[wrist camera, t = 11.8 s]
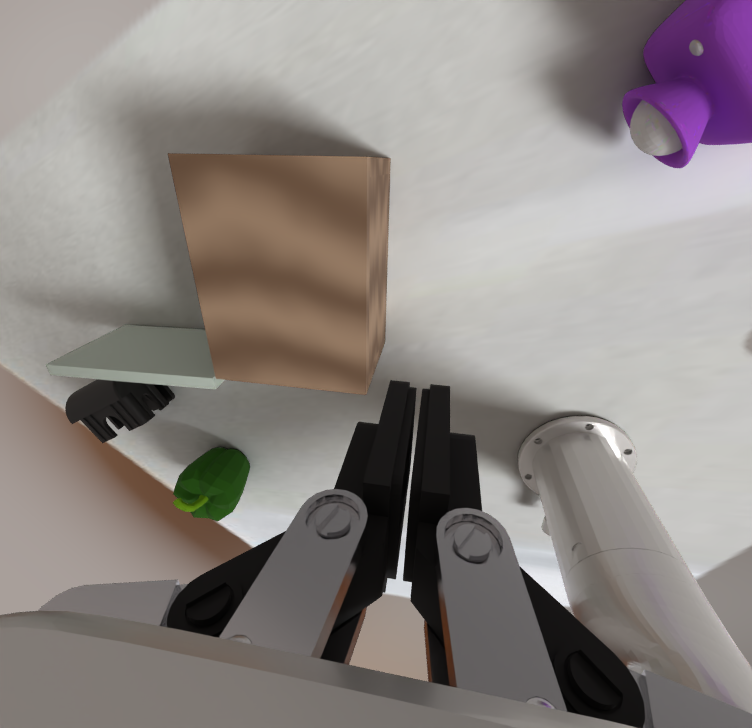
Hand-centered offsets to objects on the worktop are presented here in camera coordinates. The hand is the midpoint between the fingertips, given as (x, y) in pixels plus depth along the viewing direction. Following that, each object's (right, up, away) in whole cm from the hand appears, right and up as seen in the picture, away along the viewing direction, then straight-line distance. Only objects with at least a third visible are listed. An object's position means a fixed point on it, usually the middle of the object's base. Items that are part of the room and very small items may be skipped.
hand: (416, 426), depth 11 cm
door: (-23, +5, +35) cm, 42 cm away
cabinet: (-7, +13, +28) cm, 32 cm away
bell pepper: (-22, -12, +44) cm, 51 cm away
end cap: (-34, -1, +41) cm, 53 cm away
